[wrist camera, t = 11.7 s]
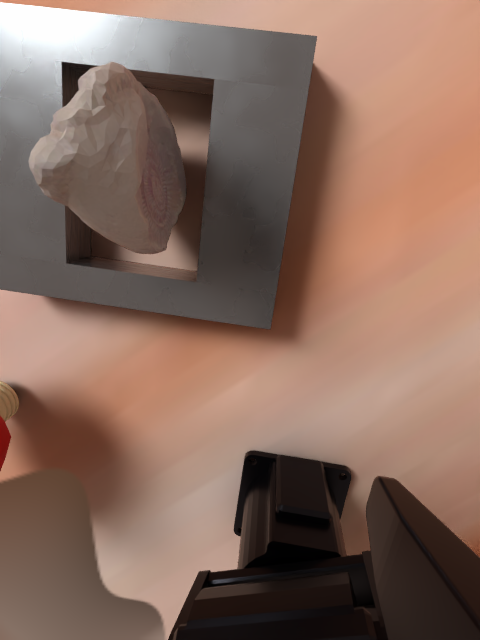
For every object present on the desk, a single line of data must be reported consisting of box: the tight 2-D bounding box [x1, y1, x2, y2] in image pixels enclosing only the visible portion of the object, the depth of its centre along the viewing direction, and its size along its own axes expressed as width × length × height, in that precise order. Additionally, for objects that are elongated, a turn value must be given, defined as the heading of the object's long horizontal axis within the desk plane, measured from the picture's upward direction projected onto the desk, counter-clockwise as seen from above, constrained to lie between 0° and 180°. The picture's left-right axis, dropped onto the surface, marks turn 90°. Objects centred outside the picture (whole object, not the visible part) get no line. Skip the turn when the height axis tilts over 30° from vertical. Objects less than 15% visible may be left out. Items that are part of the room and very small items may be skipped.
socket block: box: [0, 2, 317, 329], centre depth 18 cm, size 12×14×2 cm
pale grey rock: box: [28, 62, 187, 254], centre depth 14 cm, size 6×4×10 cm, turn 175°
